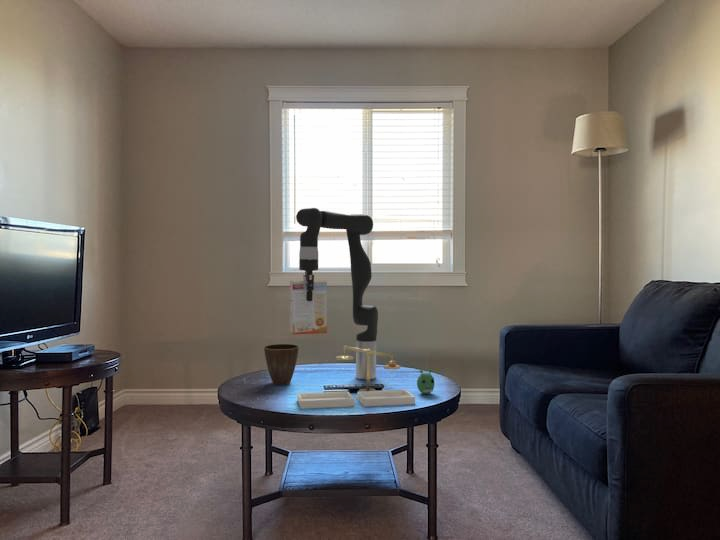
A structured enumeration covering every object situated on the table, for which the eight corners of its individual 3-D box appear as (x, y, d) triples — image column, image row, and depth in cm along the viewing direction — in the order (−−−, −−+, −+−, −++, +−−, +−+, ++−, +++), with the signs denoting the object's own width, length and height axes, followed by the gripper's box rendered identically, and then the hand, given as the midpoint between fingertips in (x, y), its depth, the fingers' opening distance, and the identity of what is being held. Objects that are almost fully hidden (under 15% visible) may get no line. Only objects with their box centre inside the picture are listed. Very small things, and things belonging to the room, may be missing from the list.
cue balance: (334, 393, 209) (334, 344, 209) (397, 390, 215) (398, 343, 215) (337, 397, 202) (337, 347, 202) (402, 394, 208) (403, 345, 208)
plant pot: (274, 389, 215) (275, 350, 215) (257, 382, 227) (257, 345, 227) (305, 384, 225) (305, 347, 225) (286, 378, 236) (287, 343, 236)
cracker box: (323, 331, 213) (323, 280, 212) (327, 333, 207) (327, 281, 207) (289, 332, 208) (289, 280, 208) (292, 335, 202) (292, 281, 202)
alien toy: (420, 396, 205) (421, 371, 205) (414, 392, 213) (414, 367, 213) (437, 396, 207) (437, 371, 207) (430, 391, 214) (430, 367, 214)
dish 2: (357, 398, 201) (357, 391, 201) (405, 396, 206) (405, 389, 205) (363, 406, 190) (363, 399, 190) (415, 404, 194) (415, 396, 194)
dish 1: (297, 400, 197) (297, 393, 197) (348, 398, 202) (348, 391, 202) (300, 408, 186) (300, 401, 186) (354, 406, 190) (354, 398, 190)
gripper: (297, 258, 213) (297, 299, 213) (301, 258, 199) (300, 301, 199) (315, 258, 215) (315, 299, 215) (320, 258, 201) (320, 301, 201)
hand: (308, 300), depth 207 cm, fingers closed on cracker box, 6 cm apart
